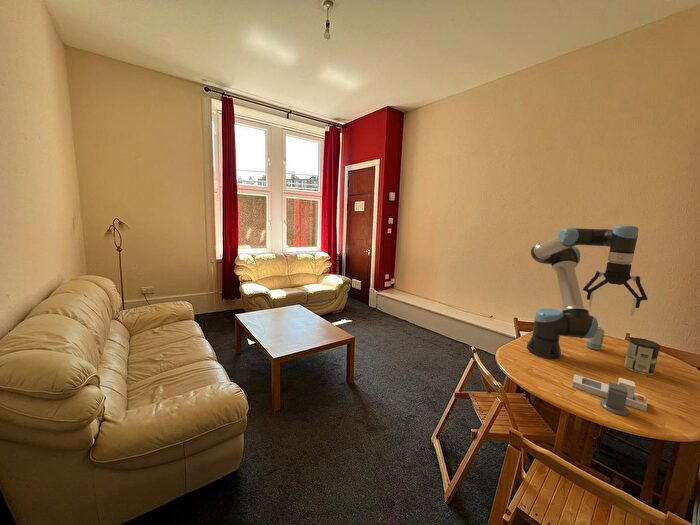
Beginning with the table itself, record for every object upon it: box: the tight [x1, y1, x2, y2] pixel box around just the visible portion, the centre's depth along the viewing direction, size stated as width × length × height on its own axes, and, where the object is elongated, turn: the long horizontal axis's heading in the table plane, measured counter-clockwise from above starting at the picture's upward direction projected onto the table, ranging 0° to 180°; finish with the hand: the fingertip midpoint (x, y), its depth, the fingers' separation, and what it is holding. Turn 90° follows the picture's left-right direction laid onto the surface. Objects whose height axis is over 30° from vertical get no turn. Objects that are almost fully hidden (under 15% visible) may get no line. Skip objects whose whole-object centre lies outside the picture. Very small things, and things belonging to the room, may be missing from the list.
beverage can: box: [584, 326, 606, 351], centre depth 157 cm, size 7×7×12 cm
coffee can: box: [623, 337, 661, 376], centre depth 135 cm, size 10×10×14 cm
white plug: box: [617, 377, 636, 400], centre depth 112 cm, size 4×4×6 cm
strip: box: [571, 373, 648, 412], centre depth 116 cm, size 22×9×3 cm, turn 49°
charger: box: [605, 381, 628, 412], centre depth 106 cm, size 5×5×8 cm
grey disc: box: [599, 398, 630, 417], centre depth 107 cm, size 8×8×1 cm
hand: (610, 311), depth 122 cm, fingers open, 13 cm apart
